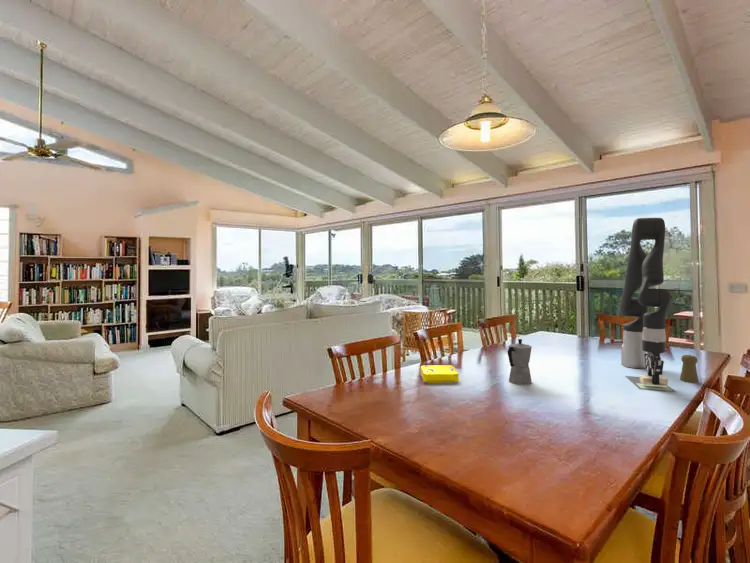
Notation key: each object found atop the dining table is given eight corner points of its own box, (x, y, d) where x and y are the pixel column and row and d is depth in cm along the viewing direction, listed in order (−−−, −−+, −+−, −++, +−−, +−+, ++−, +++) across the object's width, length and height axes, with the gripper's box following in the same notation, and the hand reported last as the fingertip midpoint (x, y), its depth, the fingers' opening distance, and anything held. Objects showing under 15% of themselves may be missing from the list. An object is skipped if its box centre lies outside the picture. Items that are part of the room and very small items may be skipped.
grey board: (624, 376, 169) (624, 375, 169) (657, 378, 166) (657, 377, 166) (639, 390, 151) (639, 388, 151) (676, 393, 147) (676, 391, 147)
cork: (691, 379, 164) (692, 353, 164) (702, 383, 158) (702, 357, 158) (676, 379, 164) (676, 353, 164) (686, 383, 158) (686, 356, 158)
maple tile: (663, 382, 154) (663, 376, 154) (667, 386, 150) (667, 379, 150) (639, 381, 157) (639, 375, 157) (643, 384, 152) (643, 377, 152)
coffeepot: (518, 376, 172) (518, 335, 171) (538, 381, 164) (538, 338, 164) (498, 383, 162) (498, 340, 161) (519, 388, 155) (519, 343, 154)
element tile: (459, 383, 163) (459, 372, 163) (423, 384, 163) (423, 372, 163) (452, 374, 178) (452, 363, 178) (420, 374, 178) (420, 364, 178)
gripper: (636, 336, 161) (636, 377, 161) (648, 342, 147) (648, 387, 148) (658, 336, 158) (657, 378, 159) (672, 343, 145) (672, 388, 145)
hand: (653, 382), depth 153 cm, fingers closed on maple tile, 4 cm apart
